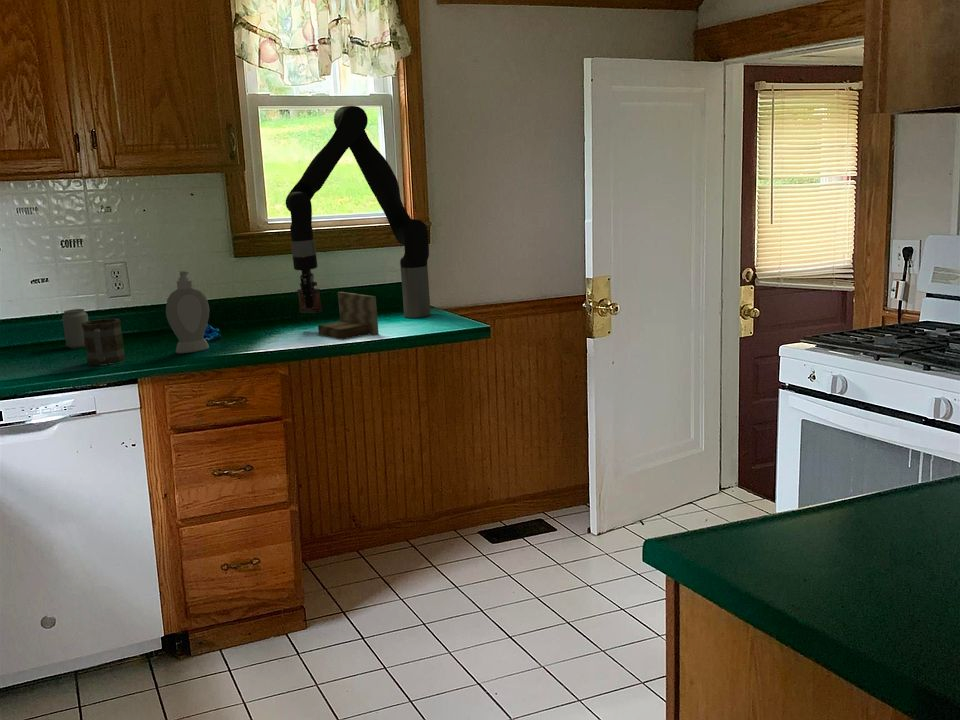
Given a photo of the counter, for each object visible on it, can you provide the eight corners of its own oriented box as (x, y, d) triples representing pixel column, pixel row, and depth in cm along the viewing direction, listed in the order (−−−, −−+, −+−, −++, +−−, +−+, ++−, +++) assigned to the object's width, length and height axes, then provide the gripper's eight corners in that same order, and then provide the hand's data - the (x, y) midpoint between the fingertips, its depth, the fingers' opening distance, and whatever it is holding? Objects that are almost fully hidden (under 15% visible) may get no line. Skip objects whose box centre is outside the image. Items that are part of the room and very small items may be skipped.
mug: (90, 360, 276) (84, 320, 274) (128, 356, 278) (123, 317, 276) (80, 371, 261) (74, 329, 258) (121, 367, 263) (115, 325, 261)
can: (67, 350, 295) (62, 312, 292) (65, 346, 301) (60, 310, 299) (93, 346, 298) (87, 309, 296) (90, 343, 305) (85, 307, 302)
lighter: (297, 312, 305) (294, 282, 303) (303, 311, 308) (299, 281, 306) (318, 312, 302) (315, 282, 299) (324, 310, 305) (320, 280, 302)
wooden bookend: (314, 333, 300) (310, 296, 297) (345, 327, 307) (341, 291, 304) (346, 340, 285) (343, 301, 282) (378, 334, 292) (375, 296, 289)
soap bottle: (175, 356, 274) (165, 274, 269) (168, 352, 281) (158, 272, 276) (219, 349, 281) (209, 269, 276) (211, 346, 288) (201, 267, 282)
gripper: (295, 252, 307) (301, 304, 311) (289, 257, 293) (296, 311, 297) (318, 251, 308) (323, 302, 311) (313, 255, 294) (319, 309, 298)
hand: (310, 306), depth 304 cm, fingers closed on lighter, 4 cm apart
